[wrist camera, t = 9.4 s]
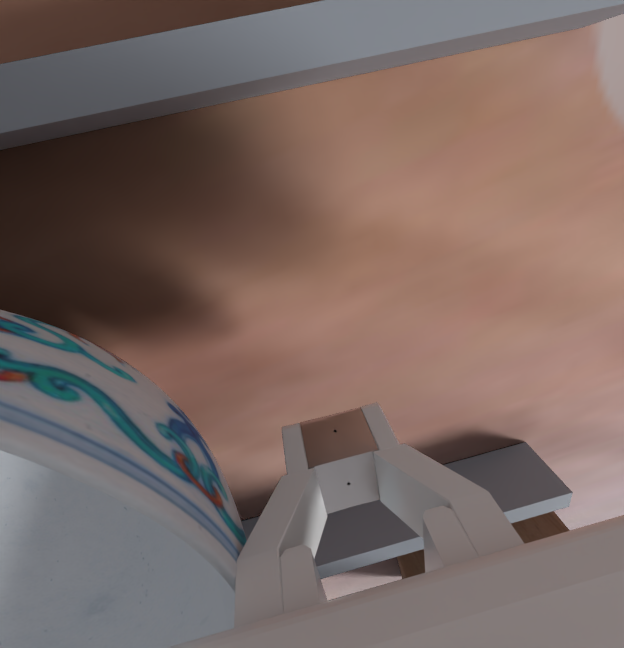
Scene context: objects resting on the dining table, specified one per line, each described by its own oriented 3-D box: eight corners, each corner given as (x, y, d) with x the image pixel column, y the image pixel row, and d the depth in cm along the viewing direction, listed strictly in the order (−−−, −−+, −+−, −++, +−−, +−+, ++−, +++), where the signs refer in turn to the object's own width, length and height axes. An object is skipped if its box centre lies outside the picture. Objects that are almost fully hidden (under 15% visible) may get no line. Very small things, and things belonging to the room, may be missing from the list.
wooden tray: (-40, 613, 17) (-138, 775, 13) (-581, 219, 8) (-1540, 309, 4) (523, 455, 19) (608, 550, 14) (588, -18, 10) (865, -147, 5)
